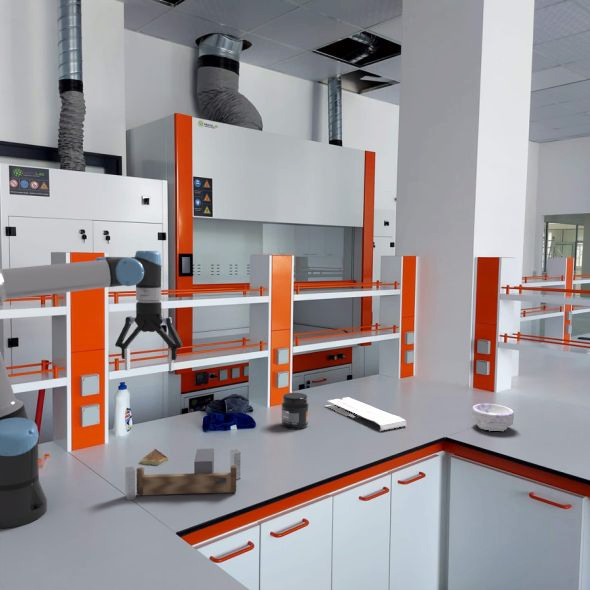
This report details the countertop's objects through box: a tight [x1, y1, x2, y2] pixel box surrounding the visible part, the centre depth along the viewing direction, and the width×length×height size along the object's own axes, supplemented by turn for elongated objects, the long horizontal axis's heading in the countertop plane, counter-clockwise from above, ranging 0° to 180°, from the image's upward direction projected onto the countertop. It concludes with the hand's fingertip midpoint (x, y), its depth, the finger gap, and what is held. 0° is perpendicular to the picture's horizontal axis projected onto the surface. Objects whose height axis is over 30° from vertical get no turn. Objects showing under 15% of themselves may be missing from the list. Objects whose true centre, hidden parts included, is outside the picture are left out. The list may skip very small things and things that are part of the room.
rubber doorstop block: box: [193, 448, 215, 473], centre depth 159 cm, size 5×10×9 cm, turn 6°
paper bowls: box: [471, 403, 515, 432], centre depth 215 cm, size 15×15×8 cm
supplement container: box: [281, 392, 309, 430], centre depth 215 cm, size 10×10×12 cm
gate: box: [136, 465, 237, 496], centre depth 153 cm, size 27×3×7 cm, turn 96°
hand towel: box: [325, 396, 408, 432], centre depth 229 cm, size 12×4×40 cm
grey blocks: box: [124, 448, 241, 501], centre depth 158 cm, size 33×3×8 cm, turn 118°
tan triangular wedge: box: [140, 448, 169, 466], centre depth 180 cm, size 11×8×2 cm
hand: (149, 370), depth 170 cm, fingers open, 13 cm apart
